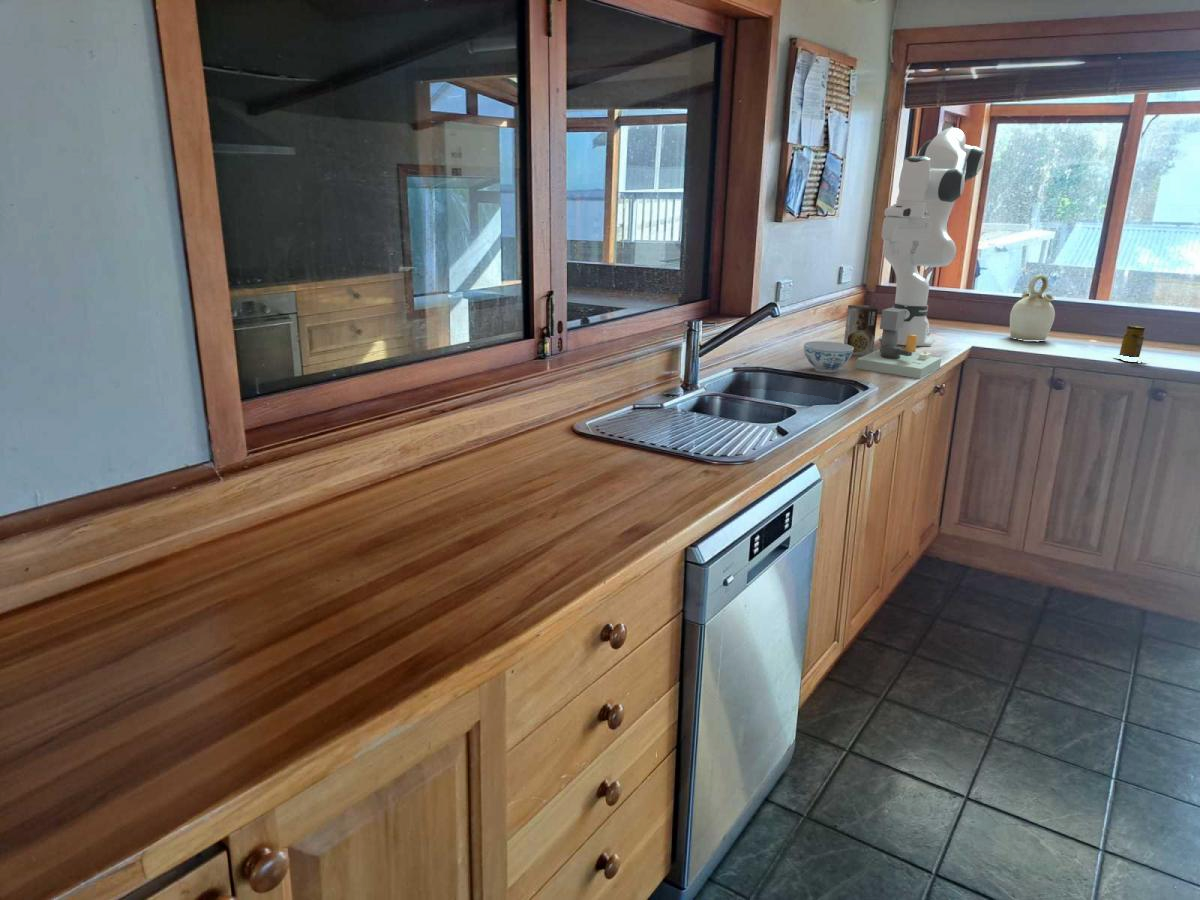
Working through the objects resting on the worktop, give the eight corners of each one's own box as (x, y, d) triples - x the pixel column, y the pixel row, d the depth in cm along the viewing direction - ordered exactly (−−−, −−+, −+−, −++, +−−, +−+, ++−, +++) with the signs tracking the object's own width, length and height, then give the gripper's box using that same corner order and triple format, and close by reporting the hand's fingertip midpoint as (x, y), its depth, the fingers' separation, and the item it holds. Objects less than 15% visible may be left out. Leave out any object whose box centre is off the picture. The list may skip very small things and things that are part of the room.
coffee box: (868, 352, 294) (875, 305, 289) (872, 356, 288) (879, 308, 283) (842, 351, 295) (847, 304, 290) (845, 354, 289) (851, 307, 284)
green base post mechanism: (878, 357, 286) (885, 307, 280) (939, 367, 275) (948, 314, 270) (855, 368, 268) (862, 314, 263) (920, 378, 258) (929, 322, 252)
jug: (1057, 344, 324) (1070, 277, 316) (1016, 342, 324) (1029, 276, 316) (1038, 336, 339) (1050, 273, 331) (999, 335, 339) (1010, 271, 331)
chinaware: (848, 378, 255) (851, 352, 252) (797, 372, 260) (800, 347, 257) (852, 368, 268) (855, 344, 266) (804, 363, 273) (807, 339, 271)
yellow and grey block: (876, 355, 273) (880, 330, 270) (888, 353, 276) (892, 329, 274) (906, 362, 264) (910, 336, 262) (918, 360, 267) (922, 335, 265)
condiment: (1131, 358, 301) (1139, 325, 298) (1147, 363, 293) (1155, 329, 289) (1111, 358, 301) (1119, 324, 297) (1126, 363, 293) (1134, 328, 289)
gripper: (921, 210, 275) (915, 253, 279) (881, 209, 264) (874, 255, 268) (938, 211, 270) (932, 255, 275) (898, 210, 259) (891, 257, 263)
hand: (903, 255), depth 271 cm, fingers open, 8 cm apart
